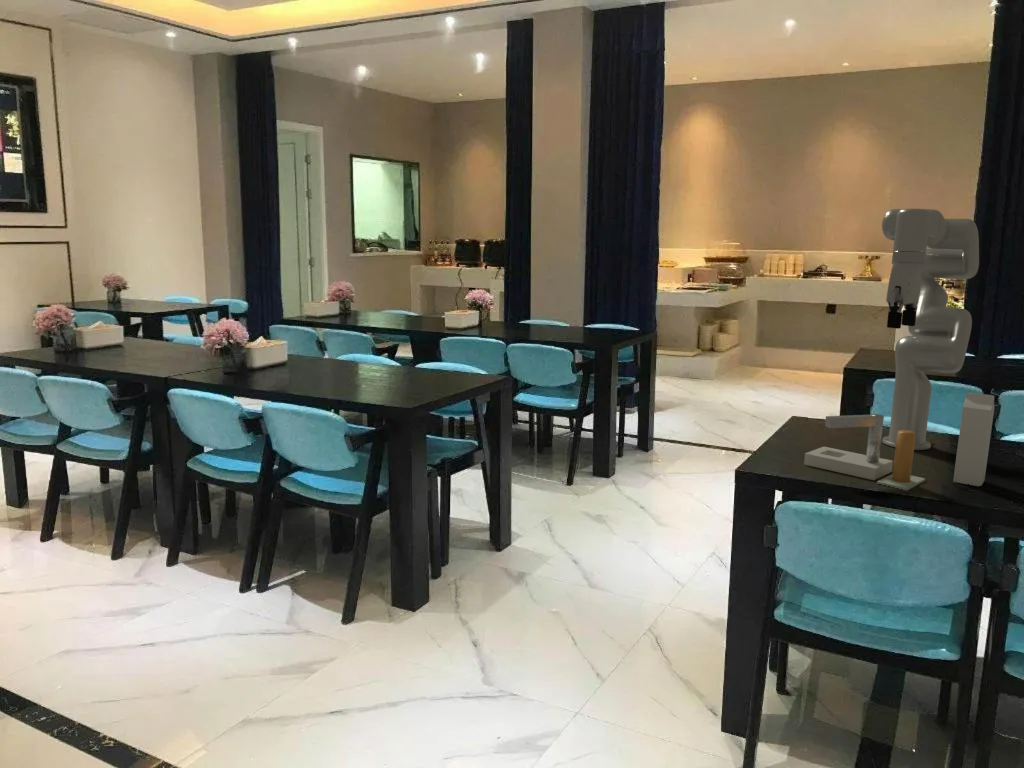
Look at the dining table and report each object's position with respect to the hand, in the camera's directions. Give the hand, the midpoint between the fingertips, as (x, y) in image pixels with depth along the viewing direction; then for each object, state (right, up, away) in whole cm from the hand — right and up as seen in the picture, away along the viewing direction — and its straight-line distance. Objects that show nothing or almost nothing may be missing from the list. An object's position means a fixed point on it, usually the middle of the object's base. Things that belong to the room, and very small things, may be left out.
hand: (900, 326), depth 206 cm
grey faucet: (-15, -34, -5) cm, 37 cm away
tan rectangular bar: (-5, -38, -10) cm, 39 cm away
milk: (+13, -39, -7) cm, 42 cm away
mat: (-5, -39, -9) cm, 40 cm away
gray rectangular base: (-13, -36, +2) cm, 39 cm away
